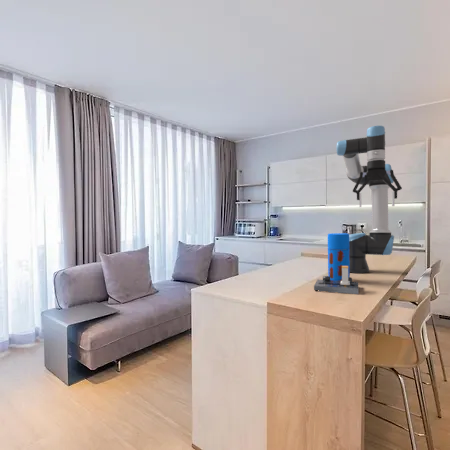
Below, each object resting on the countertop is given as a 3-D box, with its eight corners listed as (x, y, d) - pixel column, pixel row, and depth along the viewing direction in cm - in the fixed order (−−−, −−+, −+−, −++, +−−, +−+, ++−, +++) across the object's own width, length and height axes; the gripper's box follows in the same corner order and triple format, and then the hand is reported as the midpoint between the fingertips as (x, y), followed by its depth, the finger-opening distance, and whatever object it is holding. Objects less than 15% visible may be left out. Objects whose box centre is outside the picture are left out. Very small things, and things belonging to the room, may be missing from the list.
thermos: (351, 282, 156) (351, 234, 155) (329, 282, 158) (329, 234, 157) (347, 278, 167) (346, 233, 166) (327, 278, 169) (326, 233, 168)
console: (317, 284, 155) (317, 275, 154) (358, 286, 147) (358, 277, 147) (314, 291, 141) (313, 281, 141) (358, 294, 134) (358, 284, 134)
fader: (340, 282, 145) (340, 265, 144) (350, 282, 143) (349, 265, 143) (340, 284, 140) (340, 267, 140) (349, 285, 138) (349, 267, 138)
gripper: (346, 162, 141) (347, 207, 142) (408, 156, 131) (408, 205, 132) (347, 164, 148) (347, 207, 149) (406, 159, 138) (406, 205, 139)
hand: (376, 206), depth 140 cm, fingers open, 13 cm apart
